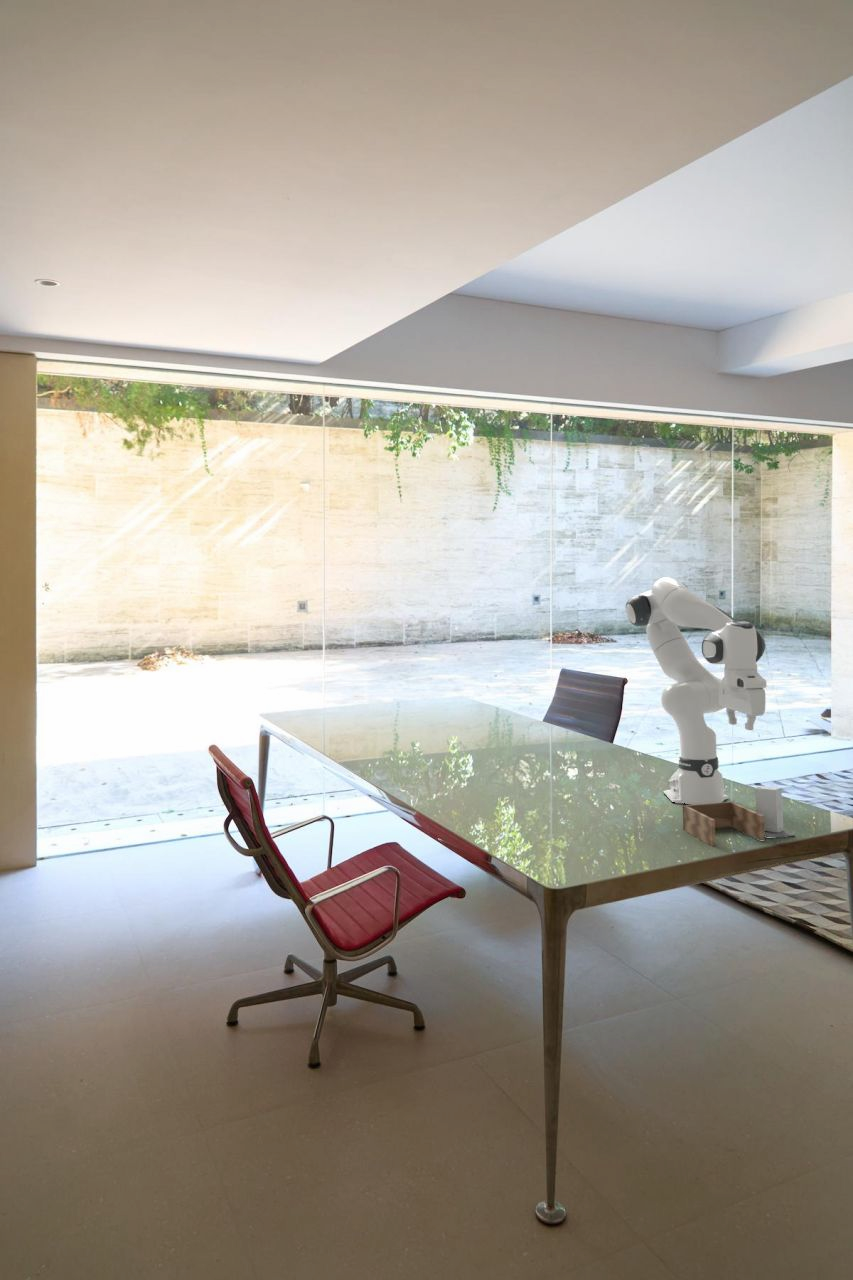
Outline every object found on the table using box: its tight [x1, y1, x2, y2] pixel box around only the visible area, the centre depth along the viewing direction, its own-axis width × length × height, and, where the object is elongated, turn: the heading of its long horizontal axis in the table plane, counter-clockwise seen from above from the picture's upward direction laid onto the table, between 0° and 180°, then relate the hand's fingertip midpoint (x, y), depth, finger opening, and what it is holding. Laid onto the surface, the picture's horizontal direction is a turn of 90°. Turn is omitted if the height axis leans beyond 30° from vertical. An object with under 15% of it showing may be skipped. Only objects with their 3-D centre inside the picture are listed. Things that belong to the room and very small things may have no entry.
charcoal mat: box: [764, 829, 796, 838], centre depth 258 cm, size 12×8×1 cm, turn 9°
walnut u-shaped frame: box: [682, 801, 766, 847], centre depth 257 cm, size 18×15×7 cm
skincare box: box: [754, 785, 785, 833], centre depth 258 cm, size 6×4×12 cm
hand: (740, 726), depth 263 cm, fingers open, 8 cm apart
